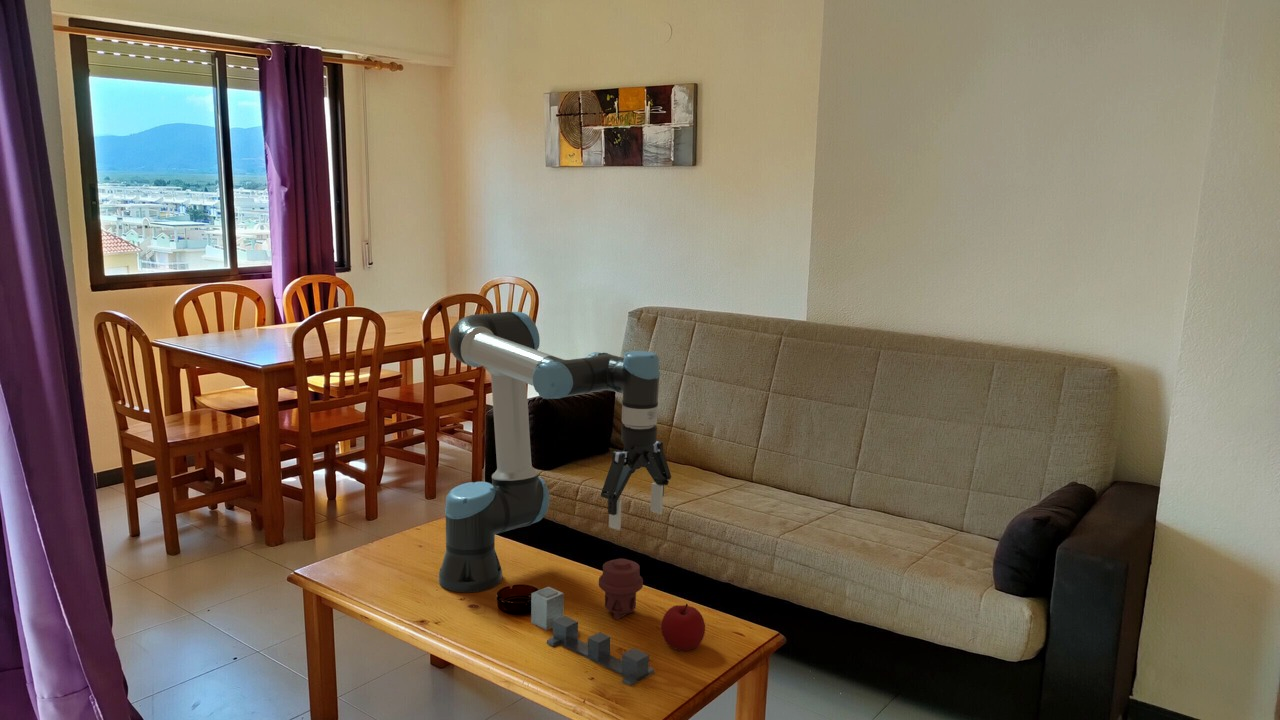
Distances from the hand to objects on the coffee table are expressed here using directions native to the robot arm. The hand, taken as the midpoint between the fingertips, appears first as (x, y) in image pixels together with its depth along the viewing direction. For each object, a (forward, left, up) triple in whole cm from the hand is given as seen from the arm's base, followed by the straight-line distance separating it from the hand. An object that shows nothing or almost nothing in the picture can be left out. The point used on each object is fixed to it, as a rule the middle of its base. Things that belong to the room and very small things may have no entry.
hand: (635, 520), depth 195 cm
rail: (+4, -15, -25) cm, 29 cm away
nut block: (-15, -12, -25) cm, 31 cm away
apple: (+13, +1, -25) cm, 28 cm away
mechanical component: (-7, +3, -25) cm, 26 cm away
